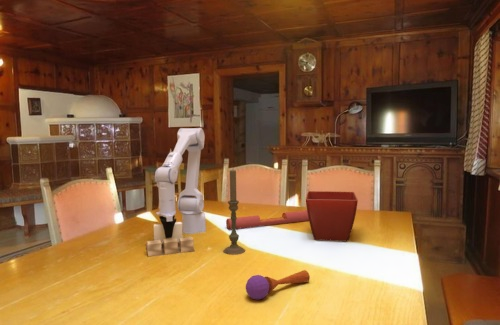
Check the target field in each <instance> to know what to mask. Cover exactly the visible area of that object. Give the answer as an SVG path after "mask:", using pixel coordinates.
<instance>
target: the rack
mask: <svg viewBox="0 0 500 325" xmlns="http://www.w3.org/2000/svg"><path fill="white" fill-rule="evenodd" d="M152 241H154V239H153V240H152ZM145 250H146V257H147V258H151V257H152V256H148V249H147V244H145ZM161 251H162V255H154V256H153V257H157V256H158V257H159V256H166V255H169V254H165V253H164V244H161ZM192 252H195V250H194V251H188V252H187V253H192ZM183 253H186V252H181V251H180V246H179V242H178V253H171V254H170V255H174V254H175V255H177V254H183Z"/></svg>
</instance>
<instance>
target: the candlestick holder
mask: <svg viewBox="0 0 500 325" xmlns="http://www.w3.org/2000/svg"><path fill="white" fill-rule="evenodd" d="M239 203H240V201H239V200H237V171H236V169H230V170H229V200H228V201H227V204H228V205H229V206H228V210H230V211H231V213H230V218H231V220H232V221H231V222H232V224H231V225H232V226H231V227H232V230H231V233H230V234H229V235H228V239H229V241H230V245H229V246H226V247H225V248H224V249H223V251H222V252H223V253H224V254H225V255H232V256H234V255H235V256H236V255H237V256H239V255H242V254H245V252H246V249H245V248H244V247H242V246H240V245H238V241H239V238H240V236H239V234H238V233H237V229H236V219H237V218H238V217H237V213H236V212H237V211H238V209H239V205H238V204H239Z"/></svg>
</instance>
